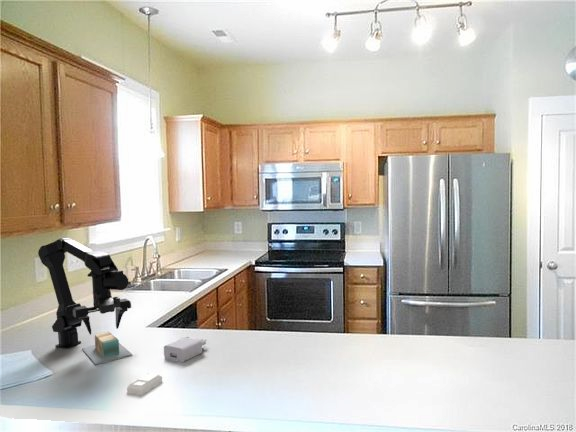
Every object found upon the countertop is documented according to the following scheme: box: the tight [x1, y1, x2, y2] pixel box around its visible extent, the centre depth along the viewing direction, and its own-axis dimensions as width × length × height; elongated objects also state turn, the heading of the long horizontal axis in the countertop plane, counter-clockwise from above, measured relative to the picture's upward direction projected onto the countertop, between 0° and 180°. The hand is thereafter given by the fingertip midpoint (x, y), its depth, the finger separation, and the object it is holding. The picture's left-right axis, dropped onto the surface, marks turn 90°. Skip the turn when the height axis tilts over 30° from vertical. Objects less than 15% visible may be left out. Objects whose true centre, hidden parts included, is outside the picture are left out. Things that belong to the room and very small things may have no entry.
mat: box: [81, 342, 133, 366], centre depth 150 cm, size 20×12×1 cm, turn 37°
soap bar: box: [126, 373, 163, 396], centre depth 120 cm, size 5×9×3 cm, turn 159°
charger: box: [163, 337, 207, 363], centre depth 146 cm, size 5×9×15 cm
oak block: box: [94, 331, 120, 358], centre depth 150 cm, size 5×5×13 cm
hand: (104, 331), depth 152 cm, fingers open, 9 cm apart
